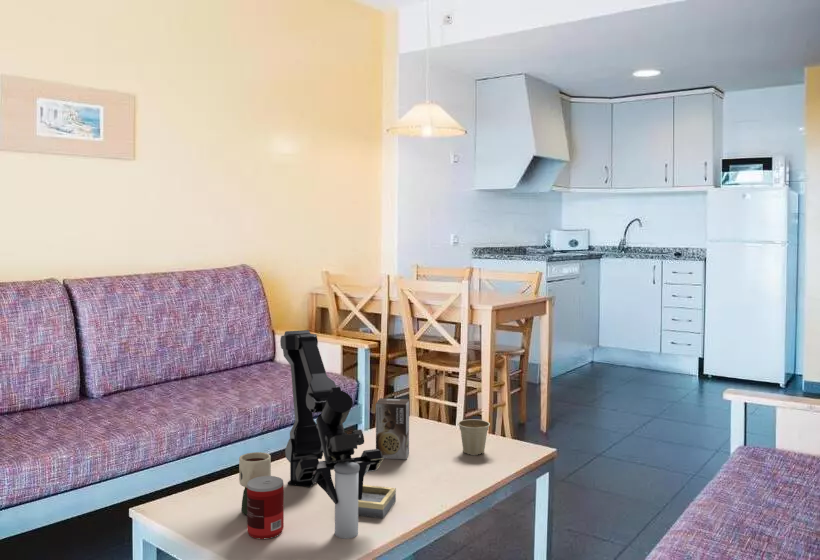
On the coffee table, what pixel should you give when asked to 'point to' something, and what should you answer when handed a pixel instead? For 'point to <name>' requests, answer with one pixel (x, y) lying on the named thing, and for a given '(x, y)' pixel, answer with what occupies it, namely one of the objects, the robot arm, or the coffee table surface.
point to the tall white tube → (346, 499)
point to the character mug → (252, 471)
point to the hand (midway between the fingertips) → (348, 501)
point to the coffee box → (392, 428)
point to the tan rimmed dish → (376, 501)
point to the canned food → (265, 507)
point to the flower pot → (473, 435)
